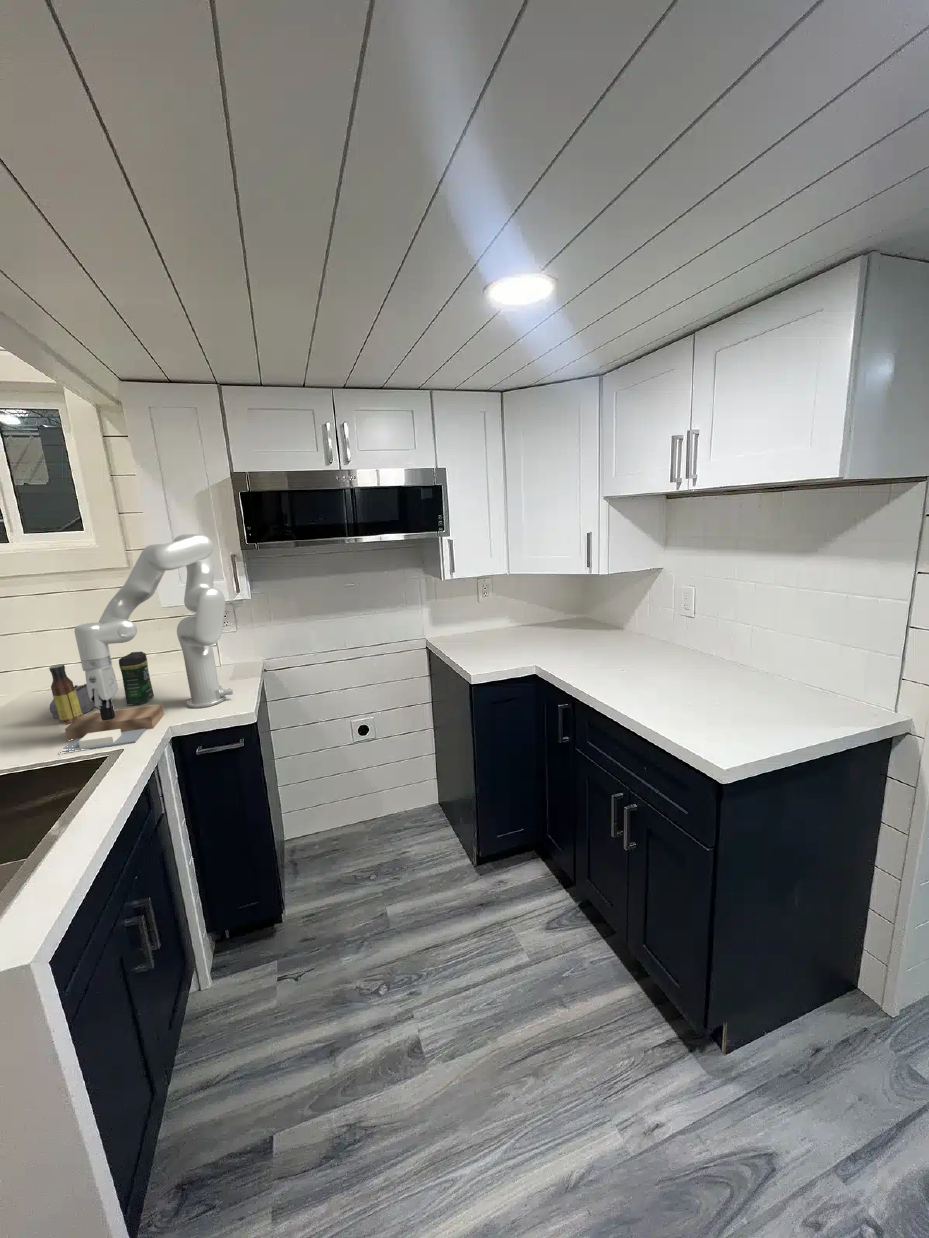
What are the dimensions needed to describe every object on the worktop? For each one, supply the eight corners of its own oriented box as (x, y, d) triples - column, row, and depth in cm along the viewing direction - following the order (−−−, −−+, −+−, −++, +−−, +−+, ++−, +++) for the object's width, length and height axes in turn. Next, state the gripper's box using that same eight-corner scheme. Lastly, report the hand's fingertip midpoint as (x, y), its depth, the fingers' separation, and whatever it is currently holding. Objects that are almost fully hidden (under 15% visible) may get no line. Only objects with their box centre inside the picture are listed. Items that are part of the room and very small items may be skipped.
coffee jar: (147, 704, 190) (137, 655, 187) (123, 707, 189) (113, 658, 185) (157, 695, 200) (148, 649, 196) (135, 698, 199) (125, 651, 195)
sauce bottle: (79, 715, 183) (67, 661, 179) (85, 719, 179) (72, 664, 175) (57, 722, 178) (43, 666, 174) (62, 726, 174) (48, 669, 170)
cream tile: (112, 736, 156) (113, 742, 157) (120, 728, 162) (121, 734, 162) (78, 741, 154) (79, 747, 155) (87, 733, 160) (89, 739, 161)
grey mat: (146, 729, 167) (145, 728, 166) (135, 742, 157) (134, 741, 157) (74, 740, 162) (74, 738, 162) (58, 754, 152) (58, 752, 152)
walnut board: (164, 715, 179) (161, 704, 178) (153, 728, 167) (150, 716, 166) (84, 726, 173) (81, 715, 172) (67, 741, 162) (64, 729, 161)
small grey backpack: (71, 702, 199) (41, 722, 180) (66, 681, 197) (35, 699, 178) (115, 697, 202) (89, 716, 182) (110, 677, 200) (84, 694, 181)
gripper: (100, 668, 154) (112, 726, 158) (119, 655, 168) (130, 708, 172) (71, 671, 152) (84, 730, 156) (93, 658, 167) (104, 712, 170)
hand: (108, 718), depth 164 cm, fingers closed
